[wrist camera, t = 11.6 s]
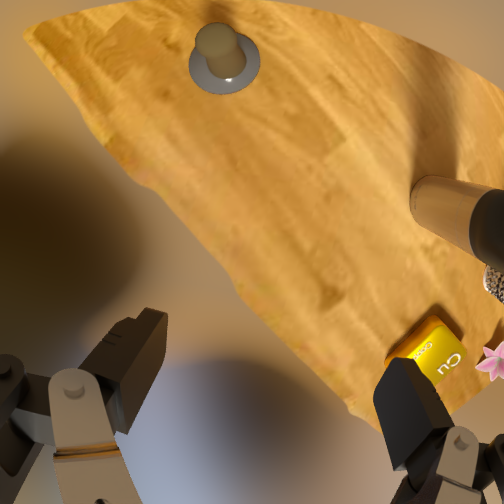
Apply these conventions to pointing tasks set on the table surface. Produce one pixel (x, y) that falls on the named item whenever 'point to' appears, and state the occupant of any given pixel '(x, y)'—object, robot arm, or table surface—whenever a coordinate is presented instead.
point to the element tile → (432, 349)
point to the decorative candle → (494, 283)
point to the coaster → (225, 86)
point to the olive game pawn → (221, 50)
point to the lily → (493, 362)
